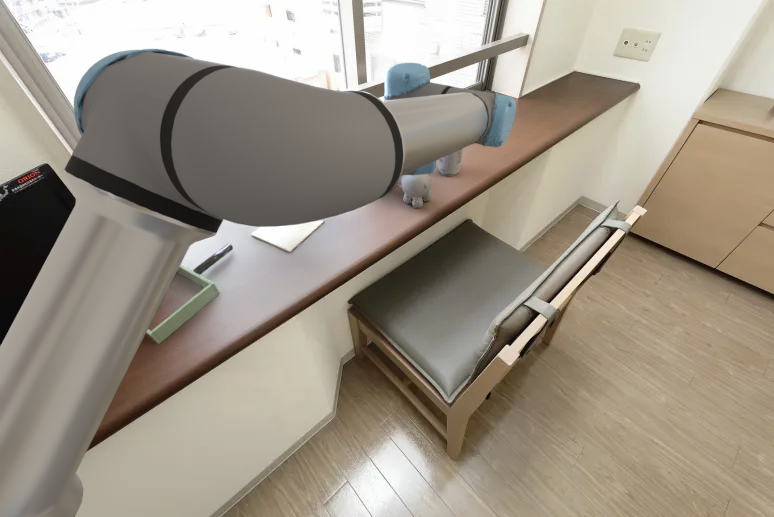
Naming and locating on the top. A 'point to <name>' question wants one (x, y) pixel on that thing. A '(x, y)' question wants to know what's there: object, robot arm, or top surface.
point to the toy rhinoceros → (416, 189)
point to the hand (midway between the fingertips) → (241, 159)
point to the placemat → (287, 234)
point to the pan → (194, 303)
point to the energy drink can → (450, 163)
